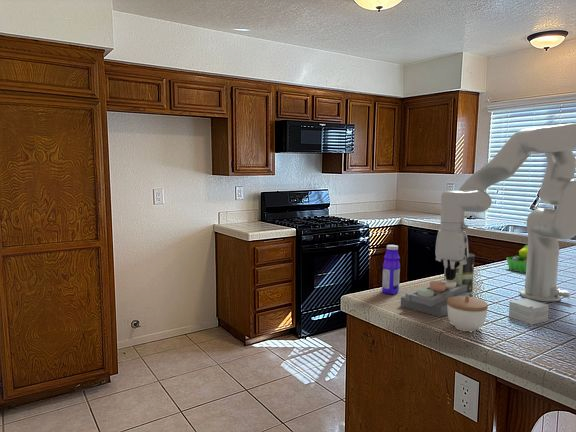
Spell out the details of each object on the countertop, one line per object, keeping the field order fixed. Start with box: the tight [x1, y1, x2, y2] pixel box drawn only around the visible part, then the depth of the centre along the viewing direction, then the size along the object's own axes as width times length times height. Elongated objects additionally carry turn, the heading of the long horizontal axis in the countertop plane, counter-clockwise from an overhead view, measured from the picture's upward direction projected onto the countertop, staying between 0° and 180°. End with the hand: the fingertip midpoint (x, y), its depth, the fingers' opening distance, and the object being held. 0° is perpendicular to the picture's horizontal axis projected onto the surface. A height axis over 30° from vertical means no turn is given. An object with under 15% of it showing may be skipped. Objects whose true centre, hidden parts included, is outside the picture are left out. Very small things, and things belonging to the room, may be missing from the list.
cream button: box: [440, 279, 456, 288], centre depth 147 cm, size 5×5×3 cm
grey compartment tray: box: [400, 280, 473, 318], centre depth 142 cm, size 14×25×5 cm, turn 134°
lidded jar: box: [447, 296, 489, 332], centre depth 121 cm, size 11×11×9 cm
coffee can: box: [443, 252, 476, 294], centre depth 157 cm, size 10×10×14 cm
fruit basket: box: [505, 244, 528, 273], centre depth 190 cm, size 11×9×11 cm
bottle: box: [381, 244, 401, 295], centre depth 154 cm, size 7×6×17 cm
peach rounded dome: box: [429, 280, 446, 293], centre depth 142 cm, size 5×5×3 cm
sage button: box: [416, 287, 434, 298], centre depth 136 cm, size 5×5×3 cm
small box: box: [508, 297, 550, 326], centre depth 129 cm, size 8×8×5 cm
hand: (450, 279), depth 147 cm, fingers closed
